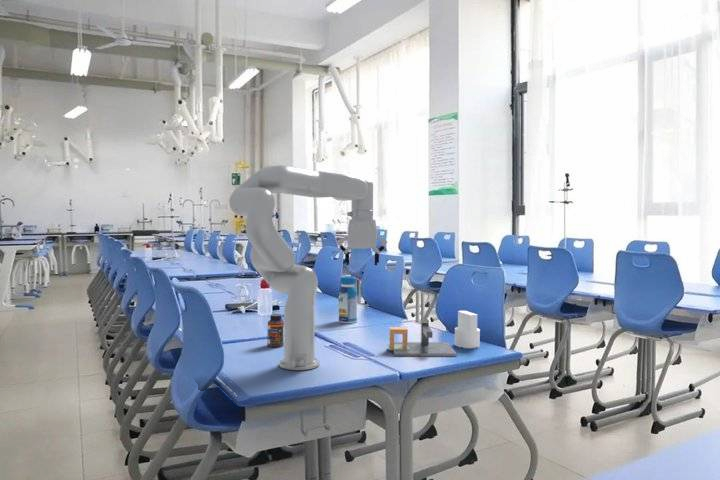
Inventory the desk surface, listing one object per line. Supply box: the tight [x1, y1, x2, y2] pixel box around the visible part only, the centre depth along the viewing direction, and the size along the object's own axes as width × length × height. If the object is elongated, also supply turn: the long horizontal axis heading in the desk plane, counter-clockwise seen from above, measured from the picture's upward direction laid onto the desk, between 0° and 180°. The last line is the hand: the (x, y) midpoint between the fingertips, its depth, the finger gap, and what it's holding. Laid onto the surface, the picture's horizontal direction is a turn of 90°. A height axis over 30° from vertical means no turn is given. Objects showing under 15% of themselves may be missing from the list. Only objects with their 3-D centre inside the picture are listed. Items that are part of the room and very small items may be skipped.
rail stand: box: [387, 321, 457, 357], centre depth 194 cm, size 16×22×9 cm
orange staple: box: [388, 326, 409, 348], centre depth 194 cm, size 4×6×7 cm, turn 90°
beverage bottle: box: [337, 275, 358, 324], centre depth 244 cm, size 8×8×20 cm
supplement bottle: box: [266, 313, 284, 348], centre depth 200 cm, size 6×6×11 cm
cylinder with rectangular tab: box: [454, 310, 481, 349], centre depth 202 cm, size 9×9×12 cm
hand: (361, 264), depth 191 cm, fingers open, 9 cm apart
